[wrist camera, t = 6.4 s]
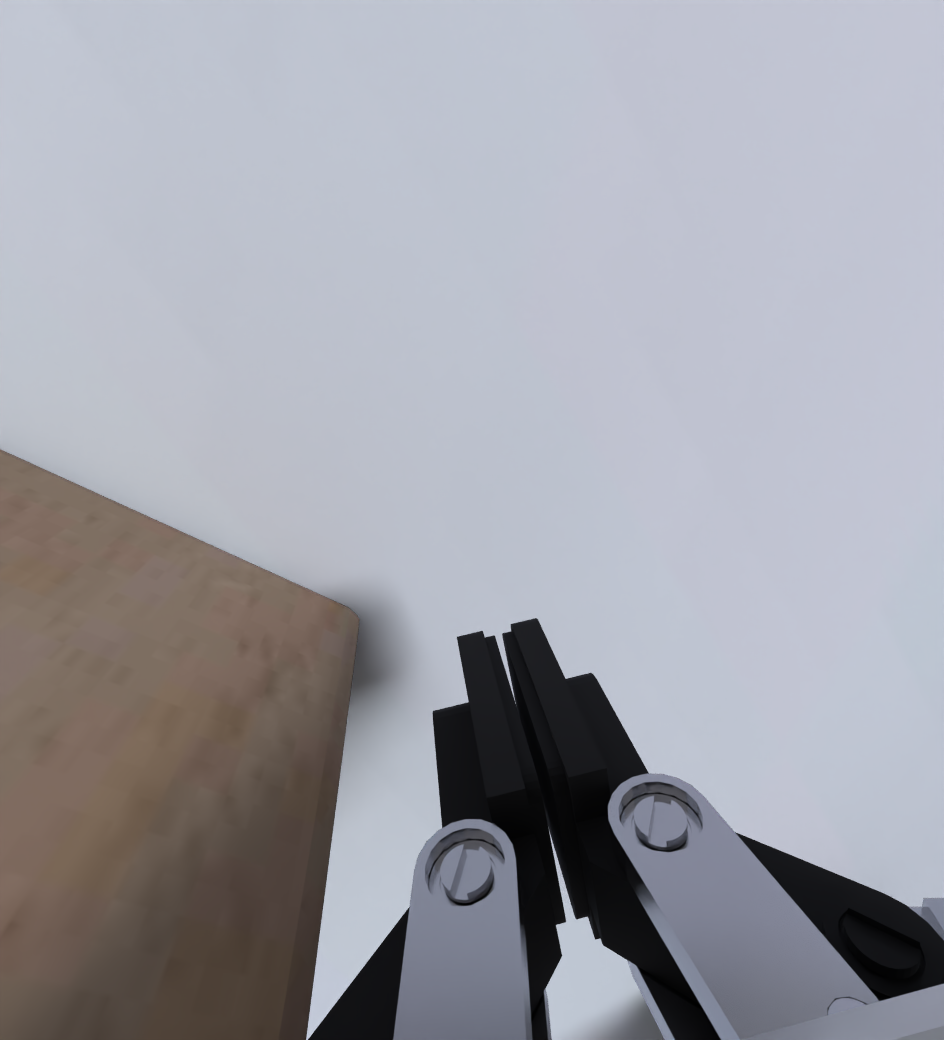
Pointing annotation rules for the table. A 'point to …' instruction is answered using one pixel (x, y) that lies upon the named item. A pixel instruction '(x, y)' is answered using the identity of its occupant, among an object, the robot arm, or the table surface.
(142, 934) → the wooden block
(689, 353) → the table surface
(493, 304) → the table surface
